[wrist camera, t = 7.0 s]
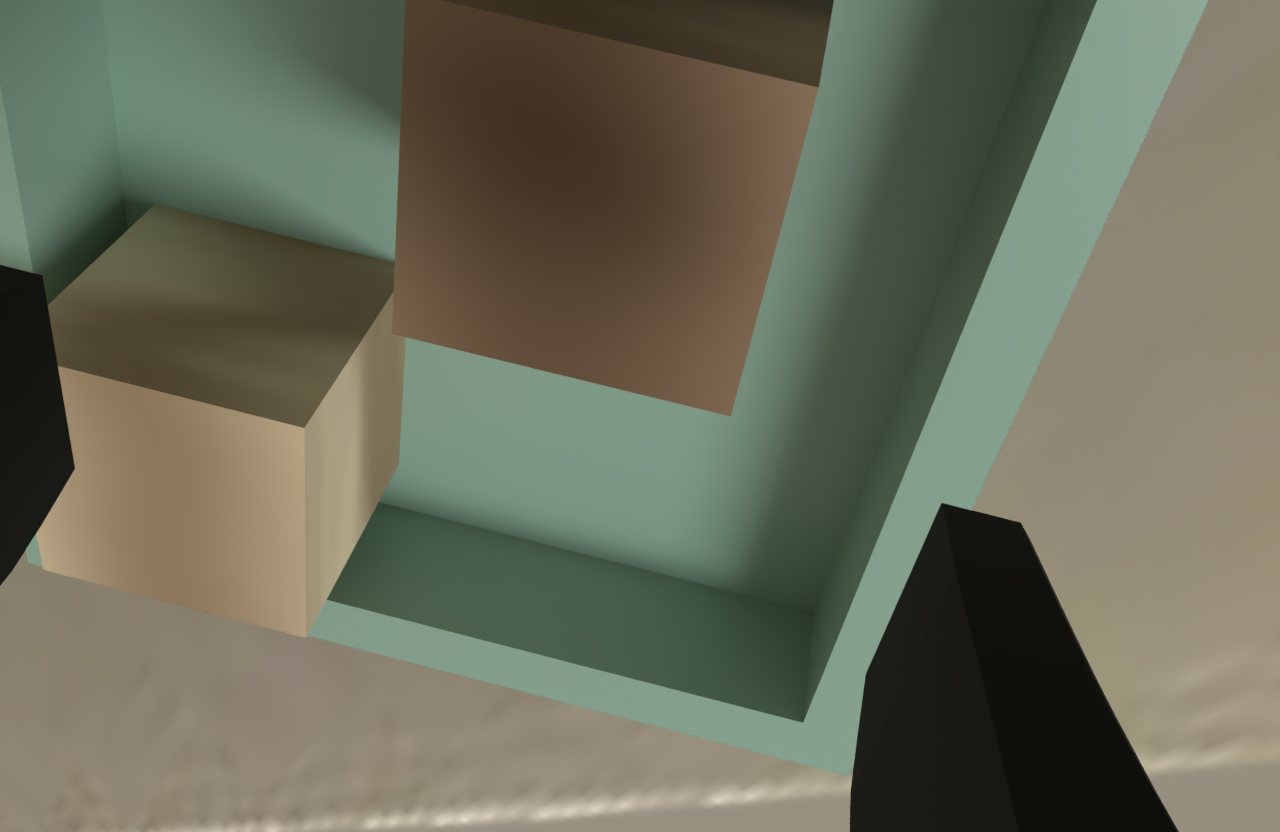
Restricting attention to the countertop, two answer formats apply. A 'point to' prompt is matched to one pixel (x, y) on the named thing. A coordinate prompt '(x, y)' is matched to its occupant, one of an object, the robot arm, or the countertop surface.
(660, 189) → the walnut block
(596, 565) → the tray
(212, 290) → the beech block in tray
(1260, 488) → the countertop surface
